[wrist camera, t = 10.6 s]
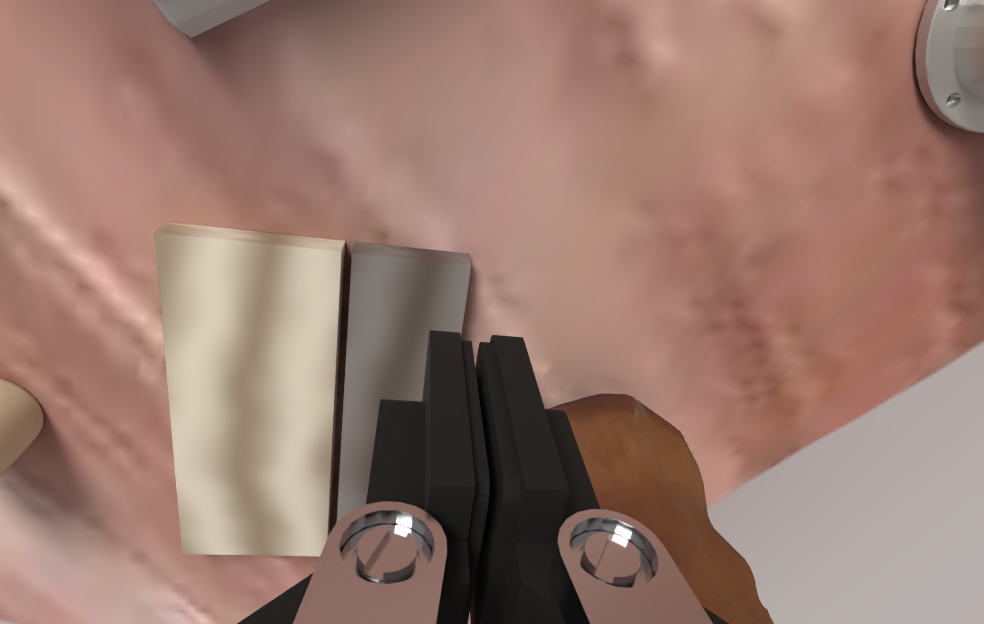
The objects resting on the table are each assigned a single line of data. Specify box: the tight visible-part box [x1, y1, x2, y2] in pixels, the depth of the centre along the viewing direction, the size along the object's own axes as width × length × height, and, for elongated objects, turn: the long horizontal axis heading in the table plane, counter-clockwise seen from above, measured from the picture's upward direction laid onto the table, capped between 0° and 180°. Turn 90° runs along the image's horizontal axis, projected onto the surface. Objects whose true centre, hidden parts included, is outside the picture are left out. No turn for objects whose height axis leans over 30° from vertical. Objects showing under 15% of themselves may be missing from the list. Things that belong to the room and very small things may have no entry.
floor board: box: [337, 242, 471, 522], centre depth 40 cm, size 7×24×2 cm, turn 171°
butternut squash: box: [550, 394, 774, 624], centre depth 33 cm, size 14×13×25 cm
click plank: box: [155, 222, 345, 556], centre depth 39 cm, size 10×24×2 cm, turn 171°
